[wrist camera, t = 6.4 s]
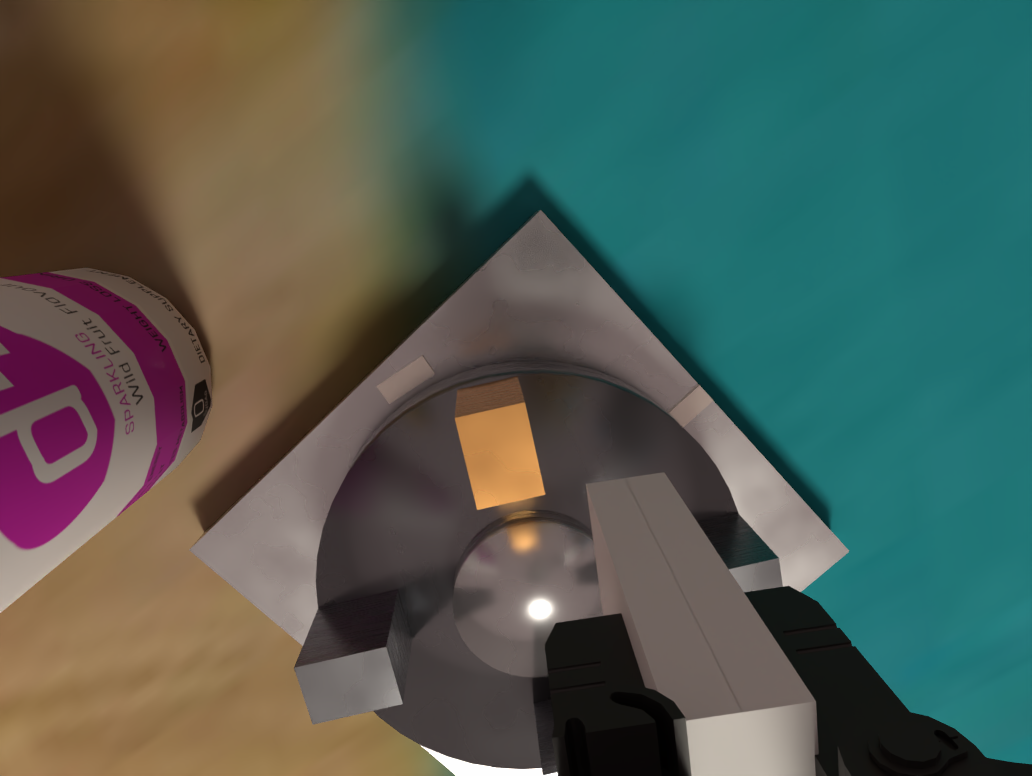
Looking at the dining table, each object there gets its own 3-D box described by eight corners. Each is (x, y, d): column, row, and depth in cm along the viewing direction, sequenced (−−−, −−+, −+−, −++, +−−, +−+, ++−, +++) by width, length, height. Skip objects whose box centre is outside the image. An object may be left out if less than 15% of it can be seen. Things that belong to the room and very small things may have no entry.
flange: (537, 210, 26) (541, 209, 25) (831, 535, 30) (851, 552, 28) (203, 533, 28) (188, 551, 27) (516, 800, 32) (518, 830, 30)
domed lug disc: (280, 411, 26) (224, 466, 20) (690, 319, 26) (752, 347, 20) (386, 761, 29) (365, 893, 23) (748, 679, 29) (815, 790, 23)
